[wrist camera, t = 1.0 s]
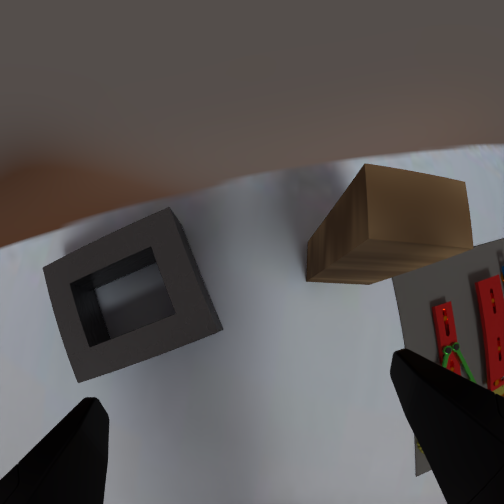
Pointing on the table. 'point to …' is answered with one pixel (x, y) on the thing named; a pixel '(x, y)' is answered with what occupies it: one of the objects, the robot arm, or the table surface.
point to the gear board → (457, 317)
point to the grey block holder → (114, 267)
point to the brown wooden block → (389, 227)
